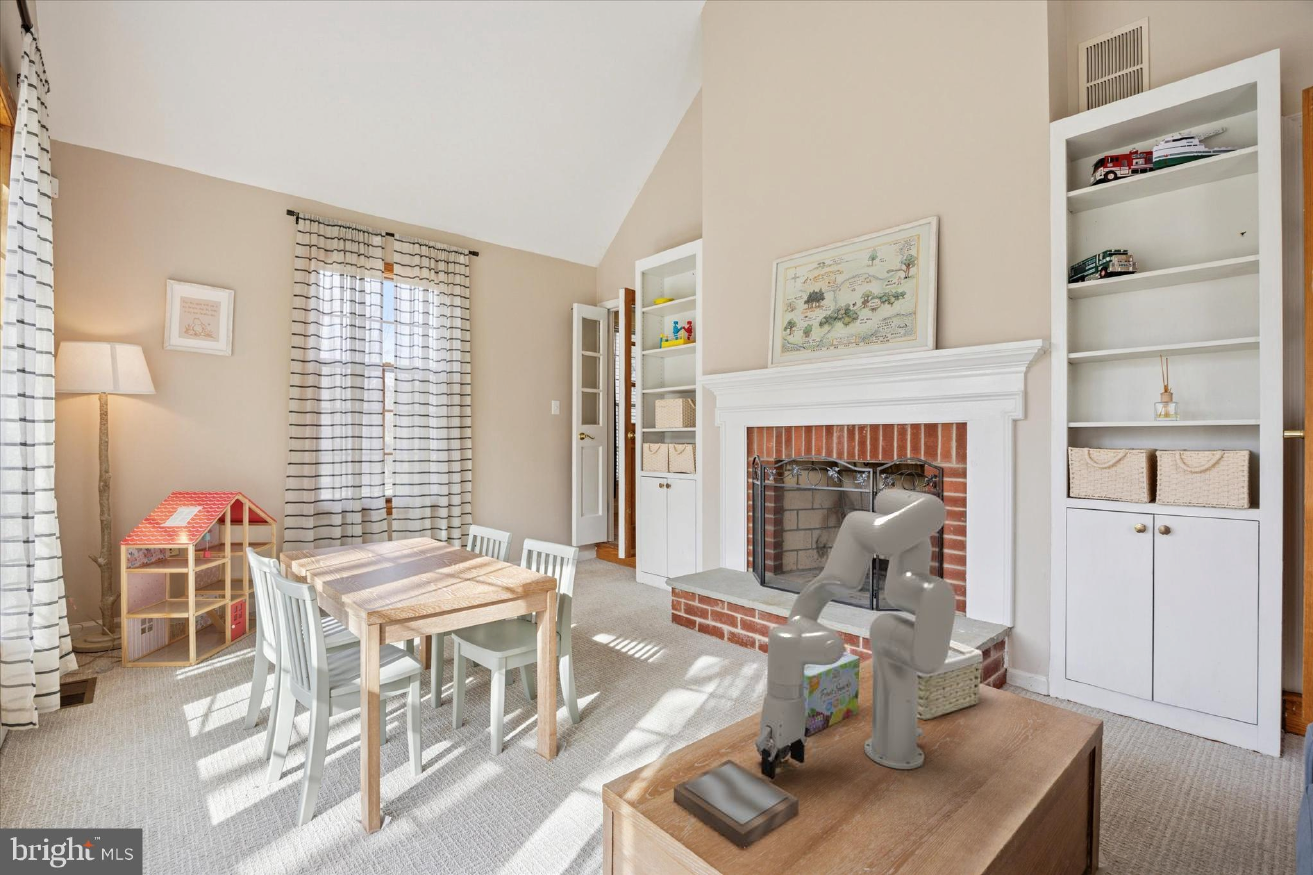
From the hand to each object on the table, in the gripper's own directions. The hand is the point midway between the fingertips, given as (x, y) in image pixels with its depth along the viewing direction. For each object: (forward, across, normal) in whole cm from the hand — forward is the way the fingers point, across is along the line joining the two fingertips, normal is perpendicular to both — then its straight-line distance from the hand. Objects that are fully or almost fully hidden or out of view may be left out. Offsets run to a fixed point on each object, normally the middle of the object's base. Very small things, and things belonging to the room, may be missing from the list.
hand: (782, 768), depth 129 cm
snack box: (+2, -29, -9) cm, 31 cm away
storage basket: (+2, -60, +2) cm, 60 cm away
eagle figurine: (+1, +1, -4) cm, 4 cm away
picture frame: (+2, +15, 0) cm, 15 cm away
